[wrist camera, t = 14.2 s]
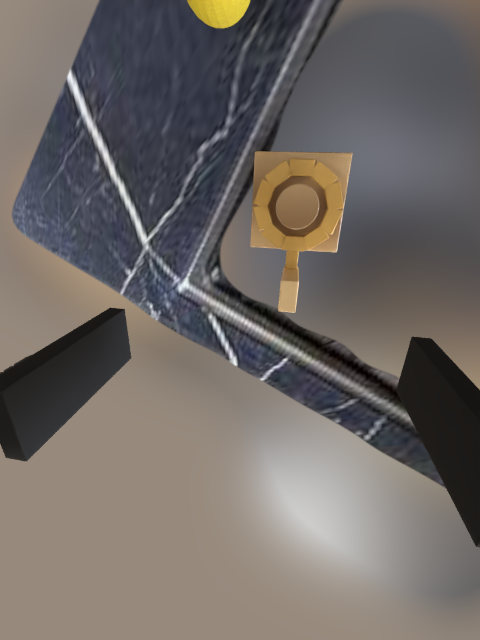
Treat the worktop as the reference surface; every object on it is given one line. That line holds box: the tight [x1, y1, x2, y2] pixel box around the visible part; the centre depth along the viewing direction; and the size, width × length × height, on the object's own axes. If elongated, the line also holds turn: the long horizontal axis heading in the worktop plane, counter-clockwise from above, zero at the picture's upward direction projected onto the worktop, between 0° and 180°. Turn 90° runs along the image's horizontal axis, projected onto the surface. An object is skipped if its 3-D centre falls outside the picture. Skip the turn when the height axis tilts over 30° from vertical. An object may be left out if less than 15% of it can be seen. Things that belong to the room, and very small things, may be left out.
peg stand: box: [250, 151, 352, 252], centre depth 24 cm, size 9×9×16 cm
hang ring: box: [253, 158, 344, 312], centre depth 28 cm, size 13×8×6 cm, turn 178°
